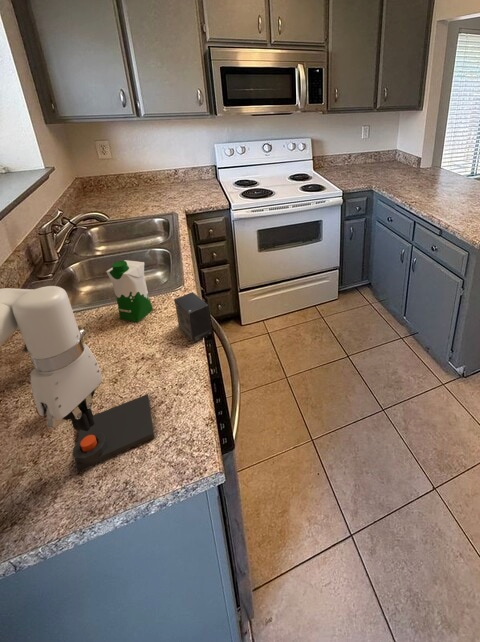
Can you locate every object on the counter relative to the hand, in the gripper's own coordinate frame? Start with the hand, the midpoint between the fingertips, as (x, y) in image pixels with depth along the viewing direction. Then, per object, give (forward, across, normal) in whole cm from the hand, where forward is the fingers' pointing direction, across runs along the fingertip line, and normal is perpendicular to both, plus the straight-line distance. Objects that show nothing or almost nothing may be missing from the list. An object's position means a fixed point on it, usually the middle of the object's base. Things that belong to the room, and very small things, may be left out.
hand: (85, 426), depth 71 cm
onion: (+8, -5, -17) cm, 19 cm away
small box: (+8, -39, -3) cm, 40 cm away
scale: (+8, -5, 0) cm, 10 cm away
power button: (+5, 0, 0) cm, 5 cm away
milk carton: (+8, -42, -27) cm, 51 cm away
